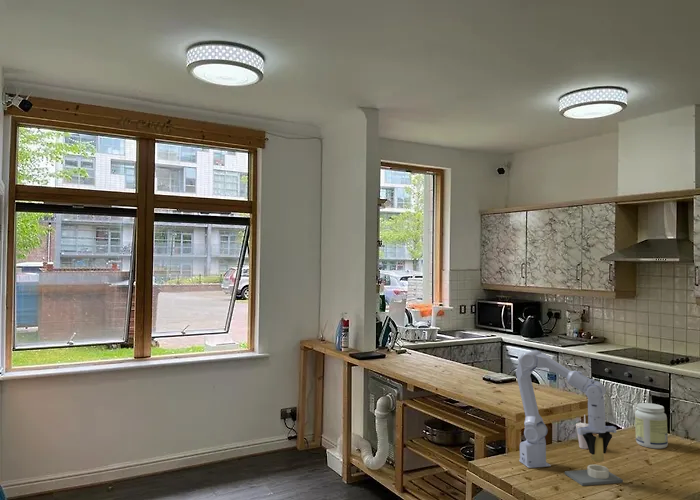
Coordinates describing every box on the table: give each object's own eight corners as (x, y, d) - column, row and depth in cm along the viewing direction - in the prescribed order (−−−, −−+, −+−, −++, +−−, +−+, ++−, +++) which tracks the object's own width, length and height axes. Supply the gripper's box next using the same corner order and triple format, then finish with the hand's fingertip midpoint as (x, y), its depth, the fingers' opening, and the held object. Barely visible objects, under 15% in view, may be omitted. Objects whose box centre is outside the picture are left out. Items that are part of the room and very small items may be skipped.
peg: (596, 462, 189) (595, 439, 189) (589, 458, 193) (588, 436, 193) (606, 461, 189) (605, 439, 190) (599, 457, 193) (598, 435, 194)
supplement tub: (670, 444, 227) (669, 405, 228) (664, 451, 218) (663, 410, 219) (639, 438, 235) (638, 400, 236) (632, 445, 226) (631, 406, 227)
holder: (582, 485, 184) (582, 475, 184) (564, 474, 194) (564, 464, 194) (623, 482, 186) (622, 472, 186) (603, 471, 197) (603, 461, 197)
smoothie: (594, 450, 220) (593, 417, 220) (578, 449, 221) (577, 416, 222) (590, 445, 226) (589, 413, 227) (574, 444, 227) (573, 412, 228)
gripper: (585, 419, 186) (586, 458, 186) (621, 417, 189) (622, 455, 188) (573, 414, 193) (574, 451, 193) (608, 412, 196) (609, 449, 195)
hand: (597, 453), depth 191 cm, fingers closed on peg, 4 cm apart
